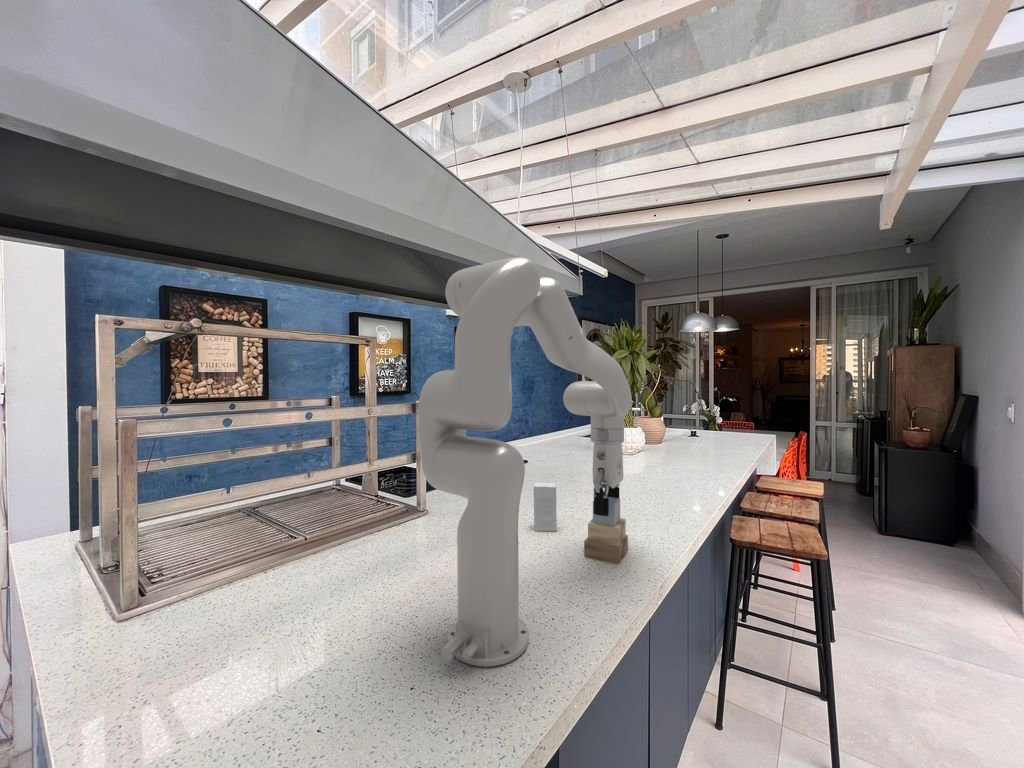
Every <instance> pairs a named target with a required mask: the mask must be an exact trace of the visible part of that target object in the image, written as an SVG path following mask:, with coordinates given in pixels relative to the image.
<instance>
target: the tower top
mask: <svg viewBox="0 0 1024 768" xmlns="http://www.w3.org/2000/svg"><path fill="white" fill-rule="evenodd" d="M626 523H627V518H622V517H620V521H619V522H618V523H617V524H616V526H615V527H613V526H607V525H602V524H596V523H593V518H591V520H590V521H589V522H588V523H587V537H588V541H591V542H596V543H602V544H607V545H613V546H618V547H619V546H620V544H621V542H622V541H623V539H624V538H625V536H626V535H627V533H626V529H627V526H626V525H627V524H626Z"/></svg>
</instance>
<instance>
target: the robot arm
mask: <svg viewBox="0 0 1024 768" xmlns="http://www.w3.org/2000/svg"><path fill="white" fill-rule="evenodd" d="M444 291H445V293H444V294H445V299H446V302H447V304H448V307H449V309H450V310H451V311H452V312H453V313H454V314H455V315H457V316H458V317H460V318H459V321H458V324H457V326H456V331H455V336H454V369H445V370H441V371H438V372H435V373H433V374H432V375H430V376H429V378H428V379H427V380H426V381H425V383H424V384H423V386H422V388H421V391H420V394H419V399H418V425H419V426H418V427H419V440H420V441H419V442H420V457H421V458H420V460H421V461H420V462H421V467H422V471H423V474H424V477H425V480H426V481H427V483H428V484H429V485H430V486H432V487H433V488H434V489H436V490H438V491H441V492H445V493H448V494H452V495H455V496H459V497H462V498H464V499H467V504H466V506H465V509H464V510H463V513H462V515H461V517H460V519H459V521H458V525H457V530H456V531H457V532H456V545H457V546H456V549H457V551H456V552H457V553H456V554H457V557H456V559H457V565H456V566H457V567H456V568H457V574H456V577H457V621H455V622H454V623H453V625H452V626H451V627H450V628H449V631H448V634H447V643H446V644H445V645H444V646H443V647H442V648H441V650H440V655H441V657H442V659H443V660H444V661H445V662H450V661H452V660H453V659H454V657H455V658H456V659H457V660H458V661H461V662H462V663H465V664H467V665H471V666H476V667H497V666H502V665H505V664H507V663H510V662H512V661H514V660H515V659H517V658H519V657H520V656H521V655H522V654H523V653H524V652H525V650H526V649H527V646H528V644H529V630H528V627H527V626H526V624H525V623H524V621H523V620H521V619H520V618H519V617H520V616H519V610H520V605H519V513H520V512H519V511H520V503H521V502H520V501H521V497H522V490H523V487H524V483H525V482H524V481H525V473H526V472H525V471H526V469H525V467H526V465H525V461H524V458H523V456H522V455H521V452H520V451H519V450H518V449H517V448H516V447H514V446H513V445H511V444H509V443H507V442H504V441H502V440H498V439H491V438H484V437H478V436H468V435H467V431H473V432H474V431H476V432H477V431H478V432H493V431H498V430H499V431H500V429H503V428H504V427H506V426H507V425H508V423H509V421H510V419H511V416H512V410H513V391H512V390H513V387H512V366H511V365H512V363H511V362H512V361H511V359H512V358H511V348H512V347H511V344H512V342H511V341H512V336H513V332H514V330H515V327H525V326H527V327H529V328H531V331H532V332H533V334H534V336H535V338H536V340H537V342H538V343H539V345H540V347H541V349H542V351H543V352H544V354H545V357H546V359H548V361H549V362H550V363H552V364H554V365H555V366H557V367H560V368H562V369H564V370H566V371H569V372H573V373H575V374H577V375H581V376H583V377H586V378H588V379H589V380H579V381H575V382H572V383H570V384H569V385H568V386H567V387H566V388H565V390H564V392H563V395H562V398H563V399H562V401H563V404H564V407H565V408H566V409H567V411H568V412H570V413H571V414H573V415H577V416H587V417H588V416H589V417H590V442H591V443H593V453H592V454H593V455H592V484H593V487H594V488H593V501H594V514H595V515H601V516H608V515H609V498H607V497H613V498H620V484H621V482H622V481H623V480H624V457H623V456H624V454H623V444H624V443H625V416H626V415H627V413H628V412H629V411H630V409H631V407H632V402H633V401H632V399H633V398H632V392H631V391H632V390H631V387H630V384H629V382H628V380H627V379H628V378H627V376H626V374H625V372H624V369H623V368H622V365H620V364H619V362H618V361H617V360H616V359H615V358H614V357H613V356H611V355H610V354H609V353H607V352H606V351H605V350H604V349H603V348H601V347H599V346H598V344H595V343H593V342H592V341H590V340H589V339H587V337H586V335H585V334H584V331H583V329H582V327H581V324H580V321H579V320H578V317H577V315H576V313H575V310H574V308H573V306H572V303H571V301H570V300H569V297H568V295H567V293H566V290H565V289H564V287H563V285H562V284H561V282H560V281H558V280H557V279H554V278H552V277H541V273H540V269H539V267H538V265H537V264H536V263H535V262H534V261H533V260H531V259H529V258H527V257H511V258H510V257H509V258H503V259H499V260H495V261H491V262H490V261H489V262H487V263H483V264H479V265H474V266H470V267H465V268H462V269H459V270H457V271H455V273H453V274H452V275H451V276H450V277H449V278H448V280H447V282H446V286H445V290H444Z"/></svg>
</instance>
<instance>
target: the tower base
mask: <svg viewBox="0 0 1024 768" xmlns="http://www.w3.org/2000/svg"><path fill="white" fill-rule="evenodd" d="M583 545H584V547H583V549H584V550H583V554H584V555H583V556H584V558H589V559H593V560H597V561H601V562H606V563H607V562H608V563H611V564H615V565H620V564H621V562H622V561H623V559H624V558H625V556H626V554H627V553H628V551H629V535H627V534H626V536H625V538H624V539H623V541H622V542H621V544H620V546H619V547H618V546H613V545H607V544H602V543H596V542H591V541H588V536H587V537H586V538H585V539H584V542H583Z"/></svg>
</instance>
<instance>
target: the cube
mask: <svg viewBox="0 0 1024 768" xmlns="http://www.w3.org/2000/svg"><path fill="white" fill-rule="evenodd" d="M607 498H609V515H608V516H601V515H595V514H594V500H593V501H592V519H593V523H596V524H602V525H607V526H613V527H615V526H616V524H617V523H618V522H619V521H620V518H621V498H620V497H619V498H613V497H607Z"/></svg>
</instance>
